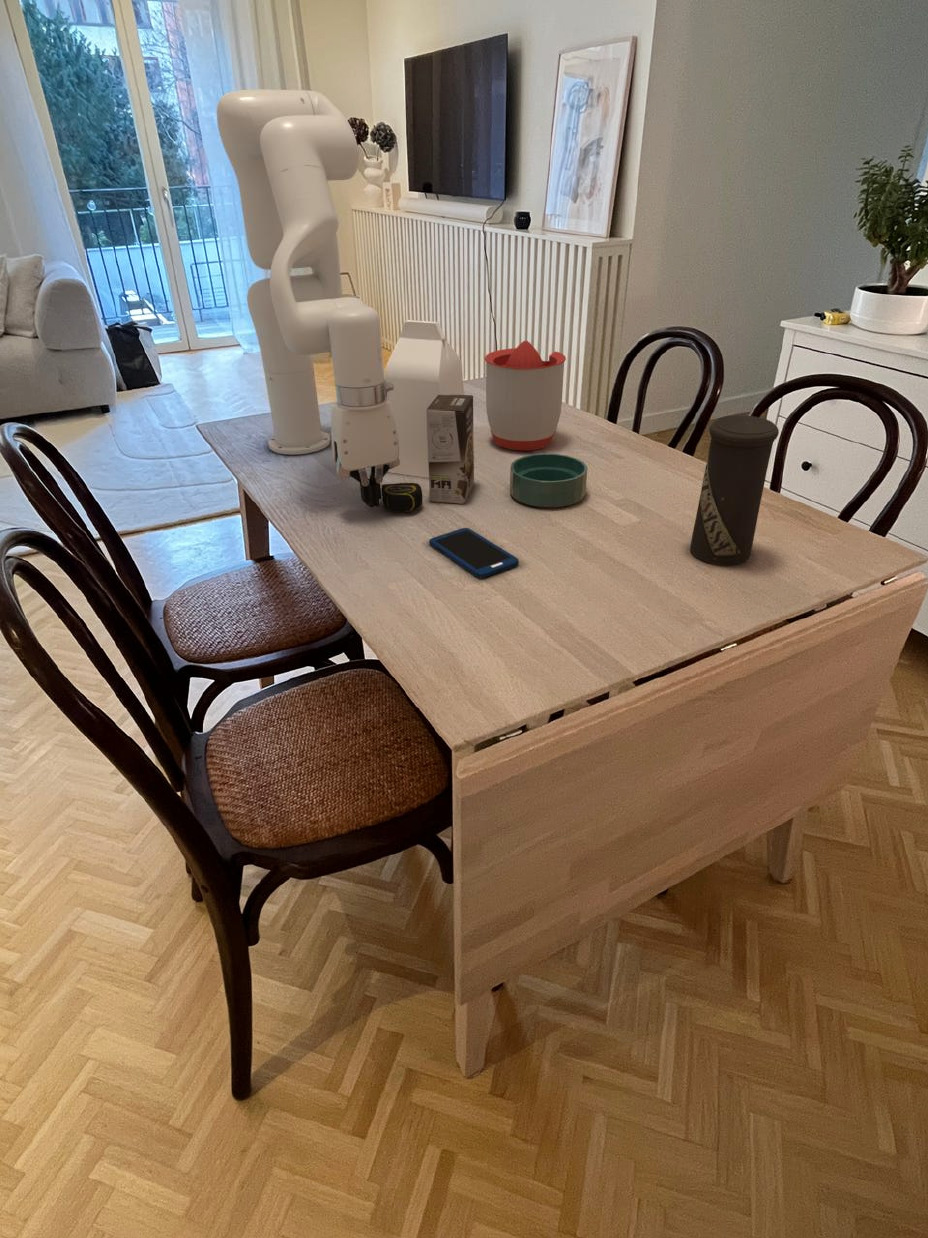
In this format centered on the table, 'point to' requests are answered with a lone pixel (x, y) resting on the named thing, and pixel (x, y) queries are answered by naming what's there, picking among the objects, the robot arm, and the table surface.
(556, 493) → the green bowl
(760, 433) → the container
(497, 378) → the citrus juicer
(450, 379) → the milk
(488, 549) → the cell phone
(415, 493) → the tape measure
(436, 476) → the coffee box
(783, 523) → the table surface
